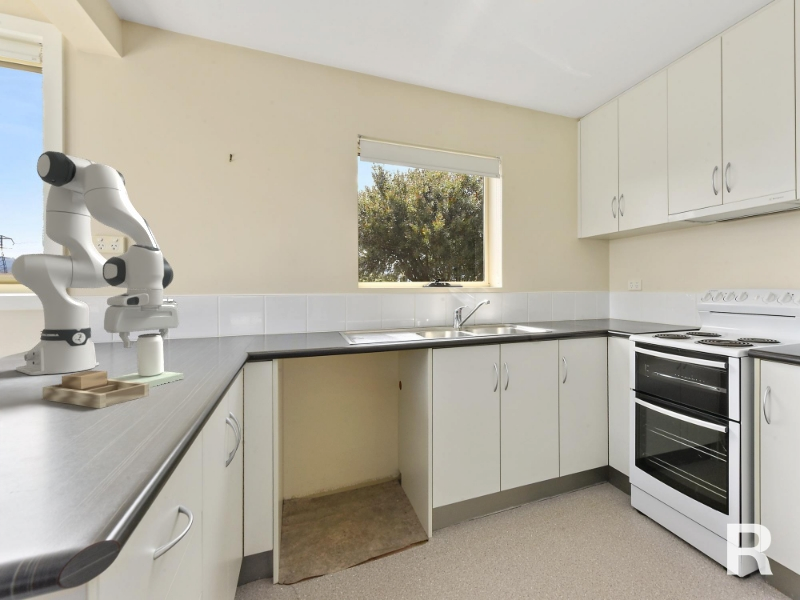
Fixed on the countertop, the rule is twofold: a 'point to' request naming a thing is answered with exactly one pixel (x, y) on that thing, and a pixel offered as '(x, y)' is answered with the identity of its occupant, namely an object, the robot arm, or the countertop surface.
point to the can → (150, 355)
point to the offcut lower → (92, 387)
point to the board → (151, 378)
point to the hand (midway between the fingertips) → (144, 345)
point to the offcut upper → (84, 379)
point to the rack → (97, 393)
